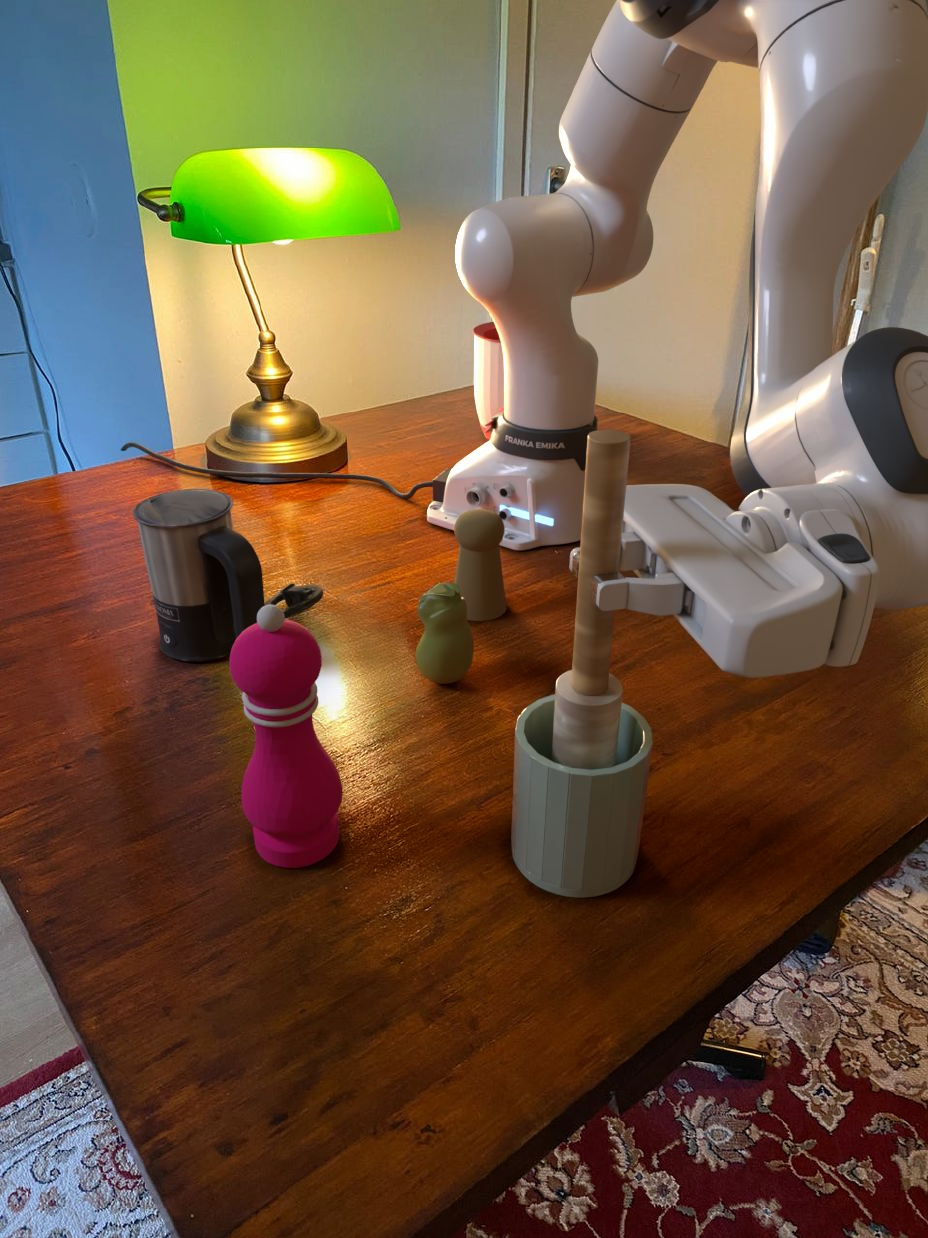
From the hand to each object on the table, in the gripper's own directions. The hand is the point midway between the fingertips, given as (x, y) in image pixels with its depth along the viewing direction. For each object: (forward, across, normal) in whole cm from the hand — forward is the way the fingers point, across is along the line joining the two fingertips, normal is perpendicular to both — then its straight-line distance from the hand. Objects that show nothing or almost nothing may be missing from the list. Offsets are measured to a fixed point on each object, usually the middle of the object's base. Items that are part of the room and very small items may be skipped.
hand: (583, 579), depth 55 cm
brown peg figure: (-3, -37, +23) cm, 44 cm away
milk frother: (+22, -39, +23) cm, 50 cm away
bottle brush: (-1, 0, +15) cm, 15 cm away
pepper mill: (+19, -6, +23) cm, 30 cm away
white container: (-25, -91, +23) cm, 97 cm away
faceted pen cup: (-1, 0, +23) cm, 23 cm away
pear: (+4, -25, +23) cm, 34 cm away
